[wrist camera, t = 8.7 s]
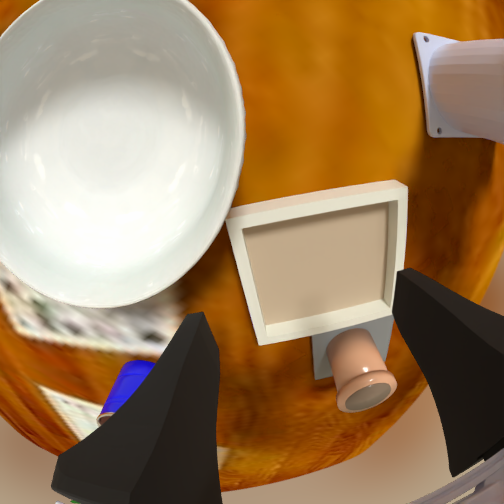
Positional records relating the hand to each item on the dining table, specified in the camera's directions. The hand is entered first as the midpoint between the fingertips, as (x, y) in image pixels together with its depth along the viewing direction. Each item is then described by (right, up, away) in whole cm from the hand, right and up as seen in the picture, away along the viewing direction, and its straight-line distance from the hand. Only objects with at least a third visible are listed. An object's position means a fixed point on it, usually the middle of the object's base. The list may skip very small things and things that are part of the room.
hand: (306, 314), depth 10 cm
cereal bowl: (-11, +10, +6) cm, 16 cm away
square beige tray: (+3, +1, +11) cm, 11 cm away
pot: (+7, -7, +14) cm, 17 cm away
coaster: (+8, -7, +15) cm, 18 cm away
